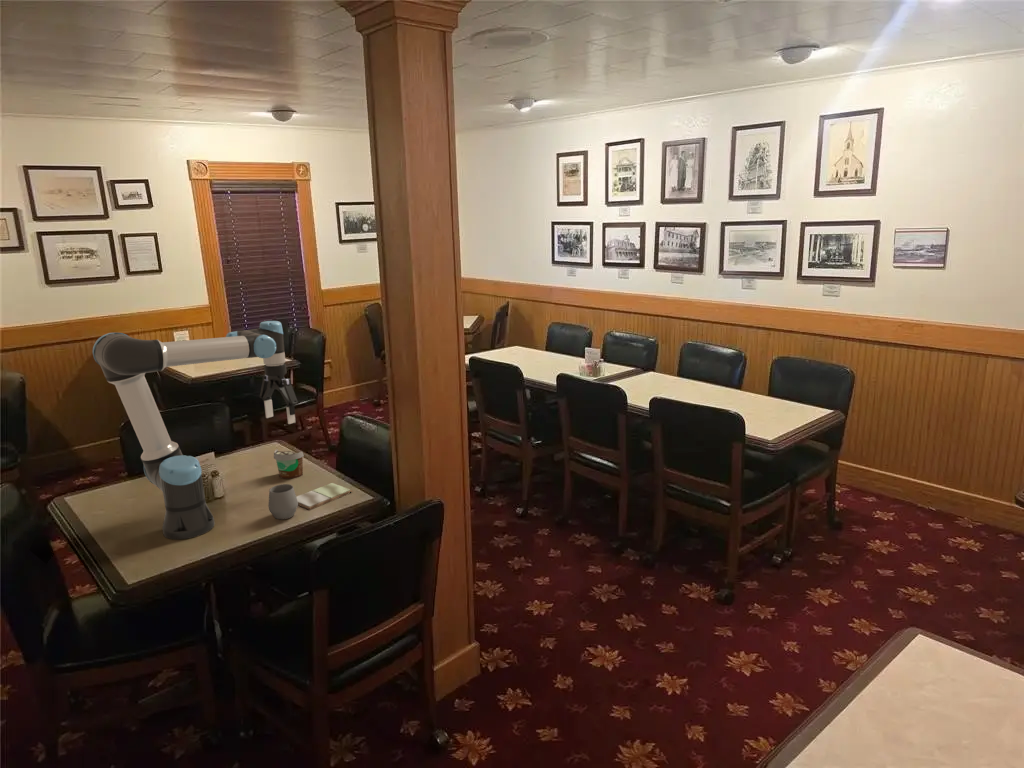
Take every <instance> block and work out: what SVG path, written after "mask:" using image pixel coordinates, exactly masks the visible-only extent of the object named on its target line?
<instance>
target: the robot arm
mask: <svg viewBox="0 0 1024 768" xmlns="http://www.w3.org/2000/svg"><path fill="white" fill-rule="evenodd" d="M92 346H93V347H92V356H93V359H94V361H95V363H97V364H98V365H99V366H100V368H101V370H102V372H103V375H104V378H105V380H106V382H108V383H109V384H112V385H114V386H115V388H116V391H117V393H118V396H119V397H120V400H121V403H122V404H123V407H124V410H125V412H126V414H127V416H128V419H129V420H130V423H131V426H132V428H133V430H134V432H135V435H136V437H137V440H138V441H139V444H140V446H141V448H142V450H143V451H142V453H141V454H140V460H141V463H142V464H143V472H144V475H145V477H146V479H147V481H149V482H150V483H151V484H153V485H154V486H156V487H157V488H158V489H159V490H160V491H161V492H162V495H163V501H164V507H165V514H164V519H163V522H162V534H163V536H164V537H165V538H166V539H169V540H185V539H192V538H194V537H198V536H201V535H203V534H206V533H207V532H209V531H211V530H212V529H213V528H214V527H215V525H216V522H215V517H214V515H213V513H212V511H211V510H210V508H209V506H208V505H207V501H206V497H205V489H204V483H203V481H204V480H203V475H202V470H203V469H202V466H201V465H200V464H201V463H200V461H199V460H198V459H197V458H196V457H194V456H192V455H184V454H183V452H182V450H181V448H180V446H179V444H178V442H175V441H173V440H172V439H171V437H170V435H169V433H168V430H167V427H166V425H165V422H164V420H163V418H162V414H161V413H160V410H159V407H158V406H157V403H156V401H155V398H154V396H153V393H152V390H151V388H150V386H149V383H148V382H147V379H146V377H145V375H146V374H148V373H155V372H162V371H163V370H164V369H165V368H168V367H169V368H170V367H177V366H179V367H180V366H187V365H188V366H189V365H195V364H196V365H197V364H206V363H214V362H223V361H231V360H242V359H252V358H259V359H263V364H264V365H263V369H264V374H263V375H262V383H261V387H260V393H259V398H260V399H262V401H263V404H264V412H265V418H266V419H269V418H272V417H274V408H273V400H272V395H273V394H274V391H275V390H277V391H278V392H279V393H280V394H281V396H282V398H283V400H284V401H285V404H286V408H285V409H286V416H287V417H286V418H287V424H288V425H291V424H296V409H295V406H297V405H298V404H299V401H298V399H297V396H296V393H295V391H294V388H293V385H292V380H291V378H289V377H288V378H285V375H286V374H287V373H288V372H287V371H288V370H287V364H286V354H285V343H284V330H283V325H282V322H281V321H278V320H267V321H261V322H259V327H258V328H254V329H244V330H235V331H231V332H230V331H229V332H227V333H226V335H225V336H224V337H223V336H222V337H212V338H211V337H210V338H200V339H190V340H189V339H187V340H176V341H163V342H162V341H161V340H159V339H139V338H135V337H132V336H129V335H128V334H125V333H123V332H108V333H105V334H102V335H101V336H100V337H98V338H97V340H95V343H94V345H92Z"/></svg>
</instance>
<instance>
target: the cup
mask: <svg viewBox="0 0 1024 768" xmlns="http://www.w3.org/2000/svg"><path fill="white" fill-rule="evenodd" d="M268 492H269V494H268V505H267V507H268V511H269V512H270V514H271V515H272V516H273V517H274V518H275V519H277V520H287V519H290V518H292V517H293V516H295V514H296V512H297V509H298V506H299V505H298V501H297V498H296V497H297V495H296V492H295V489H294V486H293V485H292V484H288V483H282V484H277V485H274V486H272V487H270V489H269V491H268Z"/></svg>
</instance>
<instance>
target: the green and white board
mask: <svg viewBox="0 0 1024 768" xmlns="http://www.w3.org/2000/svg"><path fill="white" fill-rule="evenodd" d="M350 492H352V493H353V490H351V488H348V487H344V486H342V485H339V484H336V483H334V482H331V483H328V484H326V485H322V486H320V487H318V488H314V489H312V490H310V491H308V492H305V493H301V494H299V495H296V498H297V501H298V506H300V507H302V508H303V509H308V510H314V509H315V508H319V507H321V506H323V505H327V504H328V503H330V502H333V501H335V499H336V500H337V498H338V499H340V498H342V496H343V497H345V496H347V495H346V494H348V493H350ZM350 494H351V493H350ZM344 495H345V496H344ZM348 495H349V494H348ZM339 497H340V498H339Z"/></svg>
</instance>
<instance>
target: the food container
mask: <svg viewBox="0 0 1024 768" xmlns="http://www.w3.org/2000/svg"><path fill="white" fill-rule="evenodd" d="M304 456H305V455H304V453H303V451H299V452H294V451H279V449H278V448H277V449H276V448H275V450H274V452H273V459H274V460H275V462H276V466H277V470H278V476H279V478H280V479H283V480H284V479H286V480H291V479H297V478H299V477H302V476H303V468H304V467H303V463H304V462H303V458H304Z"/></svg>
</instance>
